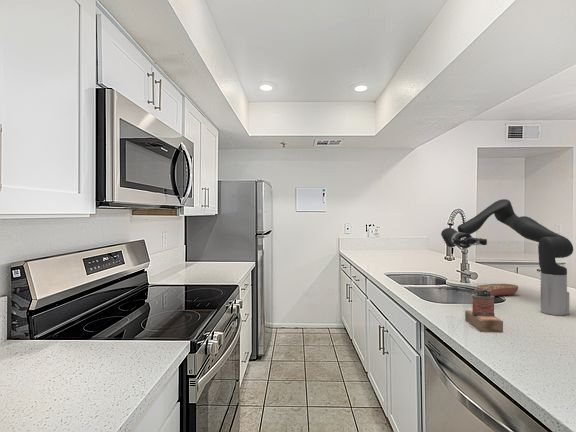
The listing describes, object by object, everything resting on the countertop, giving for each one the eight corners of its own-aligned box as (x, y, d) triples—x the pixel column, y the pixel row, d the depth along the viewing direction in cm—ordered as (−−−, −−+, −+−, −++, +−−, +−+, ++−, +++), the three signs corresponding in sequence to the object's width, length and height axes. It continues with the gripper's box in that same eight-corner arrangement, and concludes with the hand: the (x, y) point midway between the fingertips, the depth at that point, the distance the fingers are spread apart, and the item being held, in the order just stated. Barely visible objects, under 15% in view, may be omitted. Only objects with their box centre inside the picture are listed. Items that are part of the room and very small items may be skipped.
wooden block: (485, 320, 145) (485, 309, 145) (503, 332, 131) (503, 320, 131) (465, 319, 146) (465, 309, 146) (480, 331, 132) (480, 320, 132)
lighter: (492, 314, 140) (492, 288, 139) (496, 316, 136) (496, 290, 136) (470, 313, 141) (470, 288, 140) (473, 315, 137) (473, 290, 137)
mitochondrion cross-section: (486, 299, 180) (486, 289, 180) (471, 294, 189) (471, 285, 189) (522, 296, 186) (522, 286, 186) (506, 292, 195) (506, 282, 195)
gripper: (476, 247, 179) (491, 251, 163) (447, 247, 180) (459, 251, 164) (476, 232, 179) (491, 234, 163) (447, 232, 180) (459, 234, 164)
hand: (475, 242), depth 163 cm, fingers open, 8 cm apart
